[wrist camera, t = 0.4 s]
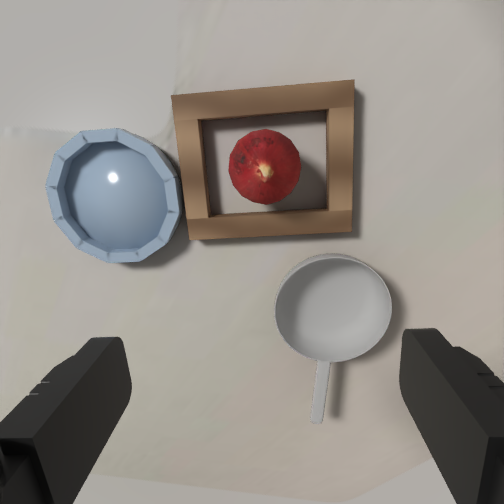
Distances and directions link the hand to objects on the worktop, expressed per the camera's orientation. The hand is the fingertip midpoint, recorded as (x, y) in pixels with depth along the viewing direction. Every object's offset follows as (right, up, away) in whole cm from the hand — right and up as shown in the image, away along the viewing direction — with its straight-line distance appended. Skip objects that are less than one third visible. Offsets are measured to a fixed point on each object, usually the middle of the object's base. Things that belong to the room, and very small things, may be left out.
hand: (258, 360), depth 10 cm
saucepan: (+7, -5, +26) cm, 27 cm away
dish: (-13, +8, +23) cm, 27 cm away
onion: (+1, +11, +21) cm, 24 cm away
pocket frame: (+1, +11, +21) cm, 24 cm away
